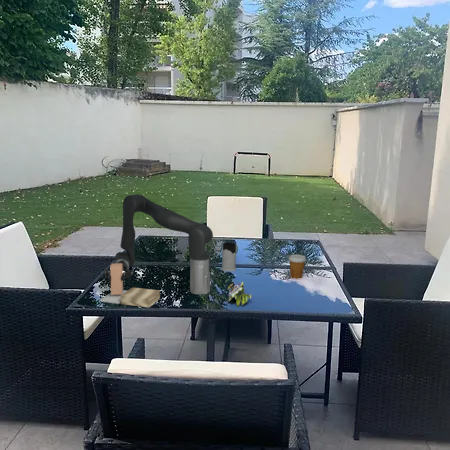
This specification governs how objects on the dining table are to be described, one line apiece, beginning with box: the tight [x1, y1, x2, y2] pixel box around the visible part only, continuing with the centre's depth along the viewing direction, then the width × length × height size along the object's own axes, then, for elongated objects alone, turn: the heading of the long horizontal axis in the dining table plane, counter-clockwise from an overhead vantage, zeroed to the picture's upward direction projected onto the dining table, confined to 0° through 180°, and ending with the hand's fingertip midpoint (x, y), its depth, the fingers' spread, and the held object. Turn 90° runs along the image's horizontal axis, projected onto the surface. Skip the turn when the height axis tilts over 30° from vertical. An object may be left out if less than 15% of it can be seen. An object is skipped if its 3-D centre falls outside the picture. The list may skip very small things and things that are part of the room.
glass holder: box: [221, 242, 238, 272], centre depth 266 cm, size 9×14×15 cm, turn 152°
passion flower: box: [226, 281, 252, 307], centre depth 212 cm, size 11×11×12 cm
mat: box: [98, 289, 128, 305], centre depth 216 cm, size 10×16×1 cm, turn 165°
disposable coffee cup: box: [288, 254, 307, 279], centre depth 251 cm, size 10×10×12 cm
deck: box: [120, 287, 161, 308], centre depth 210 cm, size 14×12×4 cm
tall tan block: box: [109, 262, 124, 294], centre depth 214 cm, size 5×4×14 cm
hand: (116, 278), depth 211 cm, fingers closed on tall tan block, 4 cm apart
